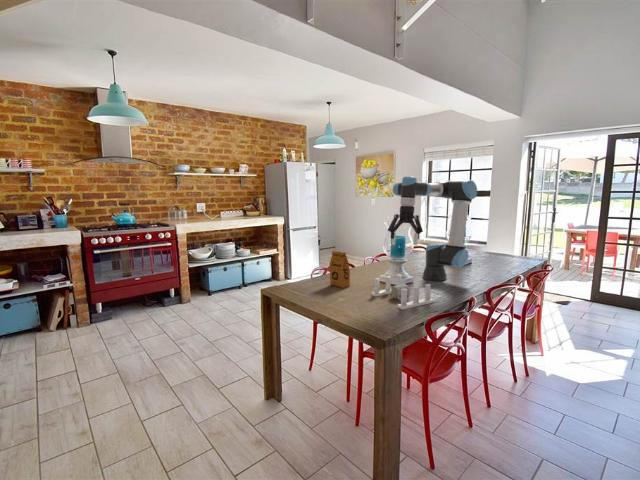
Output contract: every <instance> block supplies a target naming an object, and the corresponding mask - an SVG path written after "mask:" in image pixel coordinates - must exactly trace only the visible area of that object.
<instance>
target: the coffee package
mask: <svg viewBox="0 0 640 480" xmlns="http://www.w3.org/2000/svg"><path fill="white" fill-rule="evenodd" d="M329 283H330V285H332V286H336V287H337V288H342V289H346V288H349V287H350V286H351V271H350V263H349V260H348V256H347V254H346V252H342V251H338V250H337V251H336V250H332V251H331V257H330V260H329Z"/></svg>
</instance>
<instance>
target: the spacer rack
mask: <svg viewBox="0 0 640 480" xmlns="http://www.w3.org/2000/svg"><path fill="white" fill-rule="evenodd" d="M402 277H403V275H402V274H396V285H402V281H403V280H402ZM391 278H392V277H391V276H388V275H387V276H385V289H381V290H380V281H381V280H380V278H379V277H377V278H374V289H373V290H374V291H372V292H371V296H373V297H375V298H376V297H380V296H385V295H390V294H391V288H392V286H391V285H392V279H391ZM431 288H432V284H431V283H426V284H424V298H422V299H421V298H420V287H419V286H417V285H416V286H413V292H412V293H413V294H412V295H413V296H412V297H413V298H412V299H413V300H412V301H407V299H408V298H407V289H401V301H400V303H399V304H397V308H398V309H400V310H406V309H411V308H414V307H419V306H423V305H427V304H432V303H434V301H435V300H434V299H433V298H432V297H431V290H432V289H431ZM391 295H392V294H391Z"/></svg>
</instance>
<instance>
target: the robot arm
mask: <svg viewBox="0 0 640 480" xmlns="http://www.w3.org/2000/svg"><path fill="white" fill-rule="evenodd" d="M401 179H402V180H401V182H397V183H394V185H393V186H392V193H393V195H394V196H398V197H400V203H399V205H400V207H399V214H396V213H394V215H393V219H392V220H391V223H390V224H389V227H388V229H387V232H390V239H391V245H393V246H395V245H396V239H397V233H396V231H397V230H398V229H399V228H400V226H401V225H403V224H410V226H411V228H412V229H413V230H414V233H413V242H412V243H413V245H414V246H418V240H420V234H421V233H423V232H424V230H423V228H422V224H421V222H420V221H421V220H420V216H419V215H418V214H415V215H414V213H415V204H416V197H418V196H419V197H428V196H432V197H434V198H444V199H450V201H451V202H452V203H453V204H452V205H453V206H452V212H451V220H450V229H449V236H448V241H447V242H446V243H440V242H439V243H430V244H428V245H426V248H425V249H426V250H425V266H424V270H423V272H422V278H423V279H425V280H426V281H427V280H429V281H433V282H438V281H439V282H441V281H446V280H447V277H448V276H447V275H448V274H447V273H446V269H445V266H450V267H453V268H462V267H464V266H465V265H466V264H467V262H468V260H469V251H468V250H467V249H466V245H465V244H464V240H465V232H466V226H467V217H468V212H469V211H468V210H469V205H470V204H471V203H472V200H474V199H476V196H477V194H478V187H477V184H476V183H475V181H474V180H472V179H451V180H444V181H435V182H432V183H431V182H429V183H428V182H427V181H425V182H423V181H418V180H417V177H416V176H404V177H402V178H401Z"/></svg>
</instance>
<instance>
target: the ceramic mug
mask: <svg viewBox="0 0 640 480" xmlns="http://www.w3.org/2000/svg"><path fill="white" fill-rule="evenodd" d="M401 289H407V302H409V301H410V293H411V291H410V288H409V286H408V284H406V283H403V284H402V285H397V284H396V285H394V286H391V296H392V298H393V299H395V300H399V301H400V302H401Z"/></svg>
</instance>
